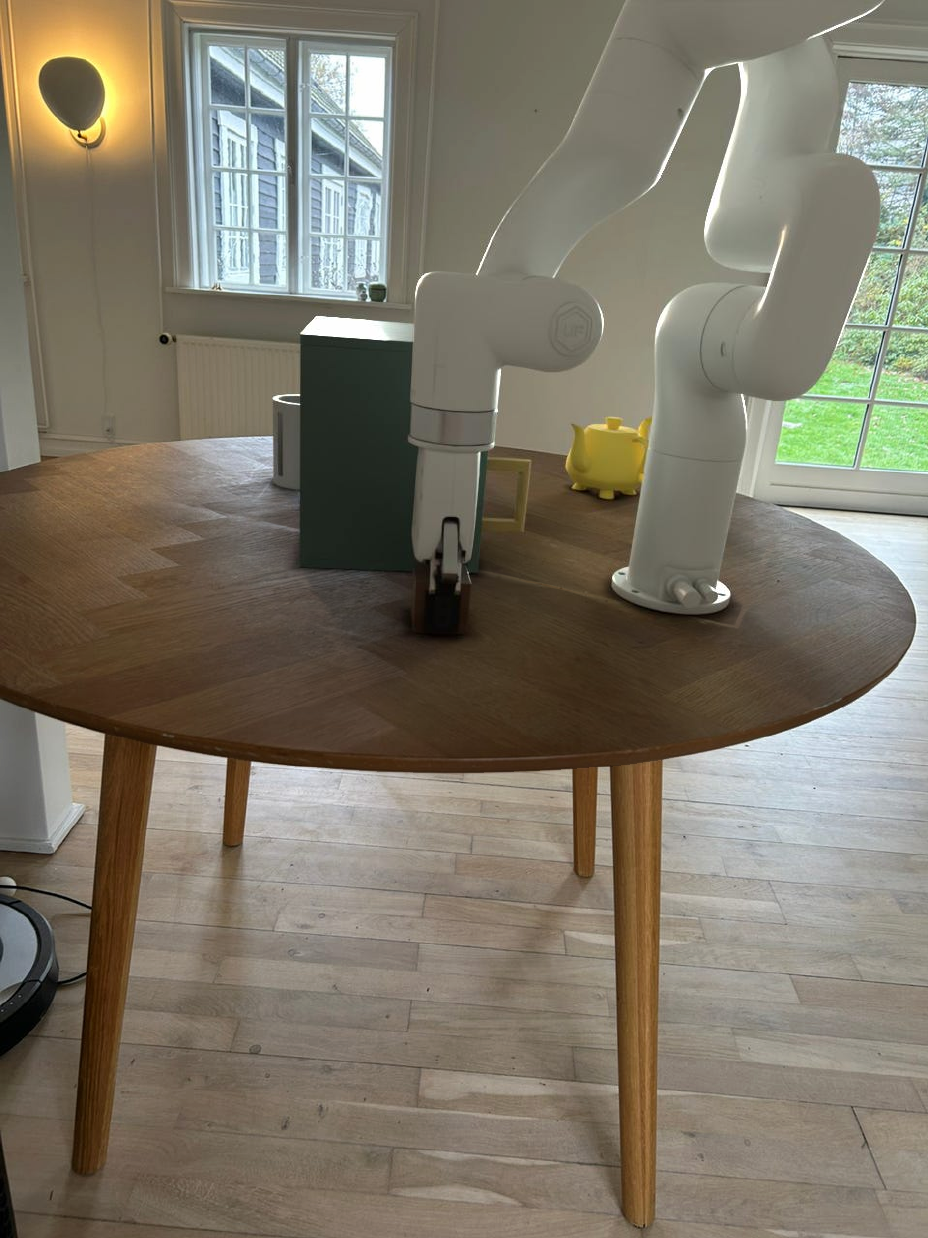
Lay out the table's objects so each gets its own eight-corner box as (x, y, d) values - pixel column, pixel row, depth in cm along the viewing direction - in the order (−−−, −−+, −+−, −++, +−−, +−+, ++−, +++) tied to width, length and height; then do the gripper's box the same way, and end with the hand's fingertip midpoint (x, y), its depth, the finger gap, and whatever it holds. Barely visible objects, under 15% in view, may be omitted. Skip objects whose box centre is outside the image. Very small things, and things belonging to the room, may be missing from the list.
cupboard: (446, 509, 118) (459, 327, 108) (465, 573, 94) (484, 346, 85) (314, 503, 115) (316, 316, 106) (299, 567, 92) (300, 333, 82)
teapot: (604, 511, 123) (616, 432, 119) (530, 487, 133) (539, 413, 129) (684, 496, 136) (697, 423, 132) (611, 475, 146) (621, 407, 142)
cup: (345, 480, 128) (347, 399, 124) (321, 493, 120) (322, 407, 116) (290, 472, 130) (289, 392, 126) (262, 485, 122) (261, 399, 117)
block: (467, 634, 79) (471, 583, 77) (412, 632, 78) (415, 581, 76) (461, 613, 83) (465, 565, 81) (410, 611, 82) (413, 563, 81)
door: (493, 510, 118) (509, 332, 109) (523, 574, 95) (547, 353, 85) (448, 508, 118) (461, 328, 108) (466, 572, 94) (485, 348, 85)
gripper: (405, 407, 81) (396, 587, 88) (413, 444, 65) (401, 658, 72) (483, 412, 82) (468, 589, 89) (509, 449, 66) (488, 660, 73)
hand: (438, 618), depth 80 cm, fingers closed on block, 5 cm apart
